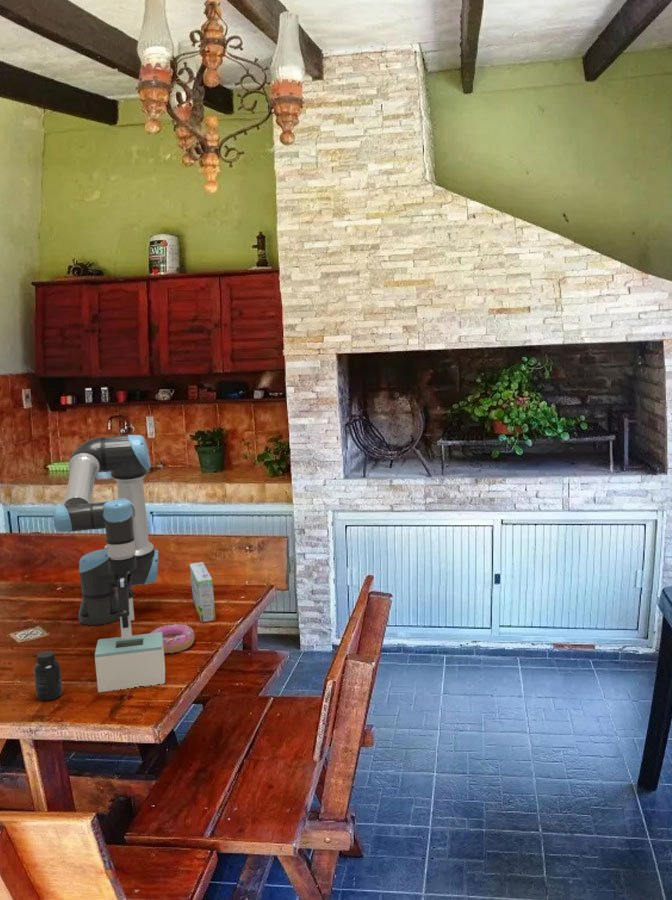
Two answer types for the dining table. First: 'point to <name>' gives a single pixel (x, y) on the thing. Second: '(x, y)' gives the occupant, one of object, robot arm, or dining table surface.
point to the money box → (130, 662)
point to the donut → (176, 637)
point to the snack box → (202, 592)
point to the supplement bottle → (47, 676)
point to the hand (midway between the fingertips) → (128, 628)
